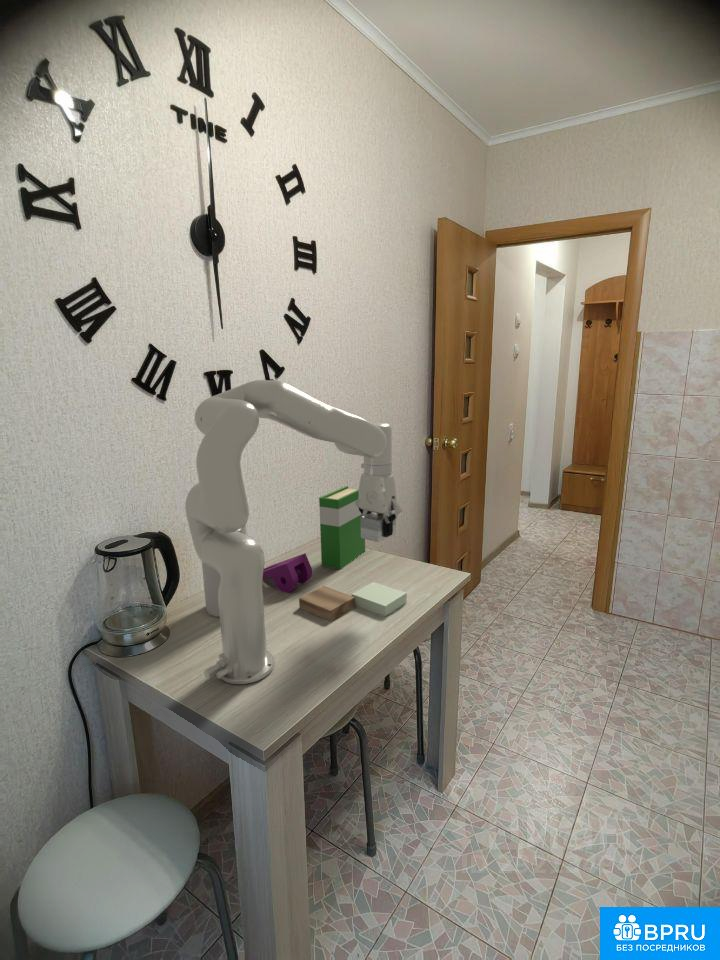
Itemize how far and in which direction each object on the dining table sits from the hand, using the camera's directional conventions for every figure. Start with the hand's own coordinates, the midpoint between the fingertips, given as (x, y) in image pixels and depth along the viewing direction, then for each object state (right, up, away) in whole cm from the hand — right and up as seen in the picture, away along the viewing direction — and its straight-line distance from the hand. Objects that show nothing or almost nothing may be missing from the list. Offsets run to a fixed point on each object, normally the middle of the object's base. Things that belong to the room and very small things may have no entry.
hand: (378, 532), depth 135 cm
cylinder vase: (-42, -22, +4) cm, 48 cm away
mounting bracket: (-30, -18, +20) cm, 40 cm away
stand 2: (0, -21, +5) cm, 21 cm away
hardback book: (-11, -13, +38) cm, 41 cm away
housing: (0, -1, 0) cm, 1 cm away
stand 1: (-14, -21, +3) cm, 26 cm away
